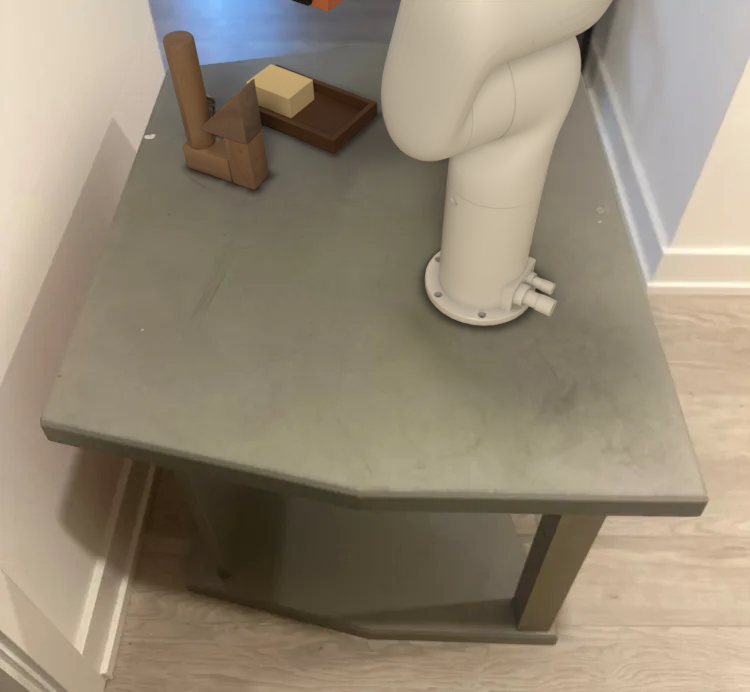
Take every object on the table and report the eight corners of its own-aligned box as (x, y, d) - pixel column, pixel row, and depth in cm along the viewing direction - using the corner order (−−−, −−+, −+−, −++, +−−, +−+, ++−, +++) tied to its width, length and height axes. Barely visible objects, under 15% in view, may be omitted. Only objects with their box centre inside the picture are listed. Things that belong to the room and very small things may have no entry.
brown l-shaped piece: (255, 191, 95) (233, 63, 81) (186, 168, 98) (153, 41, 84) (270, 175, 97) (251, 47, 83) (202, 152, 100) (172, 26, 86)
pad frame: (377, 114, 106) (377, 102, 104) (334, 154, 100) (333, 141, 98) (277, 76, 112) (276, 64, 110) (232, 111, 106) (229, 98, 105)
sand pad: (314, 99, 107) (312, 79, 105) (291, 118, 104) (288, 98, 102) (273, 83, 110) (270, 63, 107) (249, 101, 107) (245, 82, 104)
